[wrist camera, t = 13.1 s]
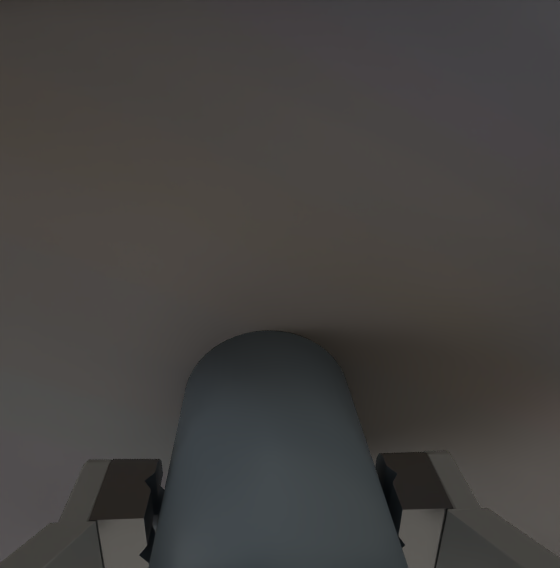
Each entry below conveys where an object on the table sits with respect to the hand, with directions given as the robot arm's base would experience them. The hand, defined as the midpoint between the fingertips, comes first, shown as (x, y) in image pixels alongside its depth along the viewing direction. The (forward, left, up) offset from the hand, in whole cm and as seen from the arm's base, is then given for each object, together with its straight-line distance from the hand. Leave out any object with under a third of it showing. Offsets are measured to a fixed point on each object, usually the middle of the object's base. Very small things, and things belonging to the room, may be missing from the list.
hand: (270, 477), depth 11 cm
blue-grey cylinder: (0, 0, -3) cm, 3 cm away
